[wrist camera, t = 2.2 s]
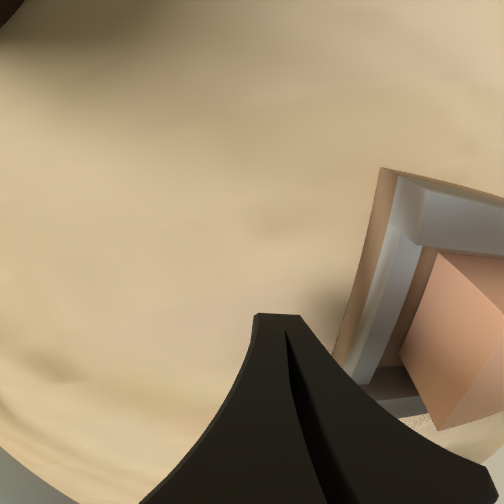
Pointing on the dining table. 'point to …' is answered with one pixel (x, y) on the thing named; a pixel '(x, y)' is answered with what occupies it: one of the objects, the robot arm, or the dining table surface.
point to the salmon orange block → (459, 340)
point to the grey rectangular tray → (407, 275)
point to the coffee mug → (8, 9)
